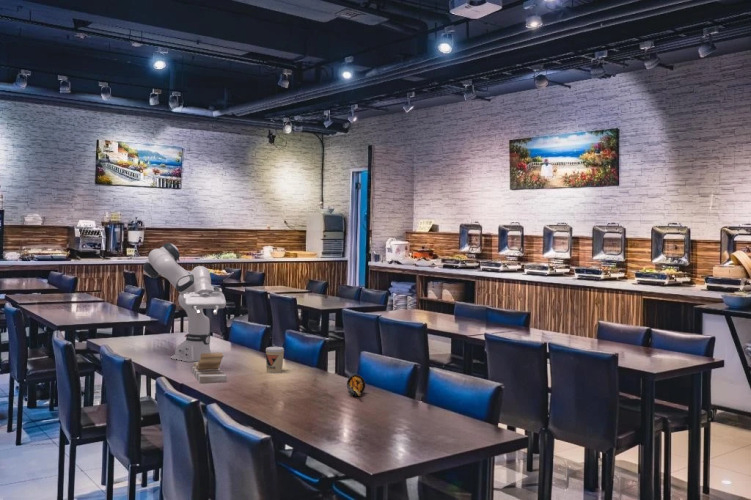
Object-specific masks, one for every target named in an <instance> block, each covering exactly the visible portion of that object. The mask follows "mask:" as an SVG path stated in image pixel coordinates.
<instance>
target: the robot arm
mask: <svg viewBox="0 0 751 500" xmlns="http://www.w3.org/2000/svg"><path fill="white" fill-rule="evenodd" d="M180 255H181V254H180V252H179V249H178V247H177V246H176V245H175V244H173V243H171V242H166V243H165V244H163V245H162V246H161V247H160V248H154V249H152V250H151V251H150V252H149V254H148V257H147V261H145V263H144V264H143V265H142V270H143V273H145V274H146V277H147V276H148V277H150V278H151V279H157V278H158V277H160V276H162V277H163V278H165V279H166V280H168V281H169V283H170V284H171V285H172V287H174V288H175V290H176V292H178V293H179V295H178V298H177V301H178V304H179V306H180V307H181V308H182V309H183V310H184V311H185V313H186V315H187V318H188V333H187V334H185V335H184V338H185V340H184V341H182V342H181V343H180V344H178V345H177V346H176V348H175V352H174V354H173V355H171V356H170V359H171V358H172V359H171V360H176V359H177V361H181V360H182V361H183V362H188V363H189V362H190V363H192V362H193V363H194V362H199V359H200V356H201V354H202V353H211V345H210V344H211V333H210V331H211V330H210V329H211V327H210V325H211V324H210V317H209V316H207V315H205V313H204V309H208V310H209V309H210V310H211V309H213V316H215V315H218V310H219V309H225V307H226V305H227V301H226V297H225V294H224V293H223V290H222V288H221V287H217V286H213V285H212V278H211V274H210V271H209V268H208V267H206V266H203V265H198V266H195V267H194V268H193V269H192V271H191V272H189V271H187V270H186V269H184V267H182V266H181V265H180V264H179V263H178V262H180V261H181V260H180Z"/></svg>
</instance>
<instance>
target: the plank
mask: <svg viewBox="0 0 751 500" xmlns="http://www.w3.org/2000/svg"><path fill="white" fill-rule="evenodd" d="M223 357H224V354H223V352H210V353H202V354H201V356H200V359H199V361H197V362H198V365H197V369H198V370H209V369H220V366H221V363H222V361H223Z"/></svg>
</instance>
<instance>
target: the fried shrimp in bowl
mask: <svg viewBox="0 0 751 500" xmlns="http://www.w3.org/2000/svg"><path fill="white" fill-rule="evenodd" d="M366 387H367V386H366V380H365V379H364V378H363V377H362V376H361V375H359V374H353V375H350V376H349V377H348V379H347V381H346V388H347V390H348V391H347V393H348V394H349V395H350V396H351V397H354V396H355V397H361V395H362V394H363V393H364V391H365V390H366Z"/></svg>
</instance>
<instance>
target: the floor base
mask: <svg viewBox="0 0 751 500" xmlns="http://www.w3.org/2000/svg"><path fill="white" fill-rule="evenodd" d="M198 362H199V361H193V365H191V366H190V367H191V369H190V372H191V373H192V375H193V376H194V377H195V379H196V380H197V381H198V382H199V384H211V383H214V384H215V383H226V382H227V375H226V373H224V372H223V370H222V369H220V368H219V369H209V370H198V369H197V365H198Z"/></svg>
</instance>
